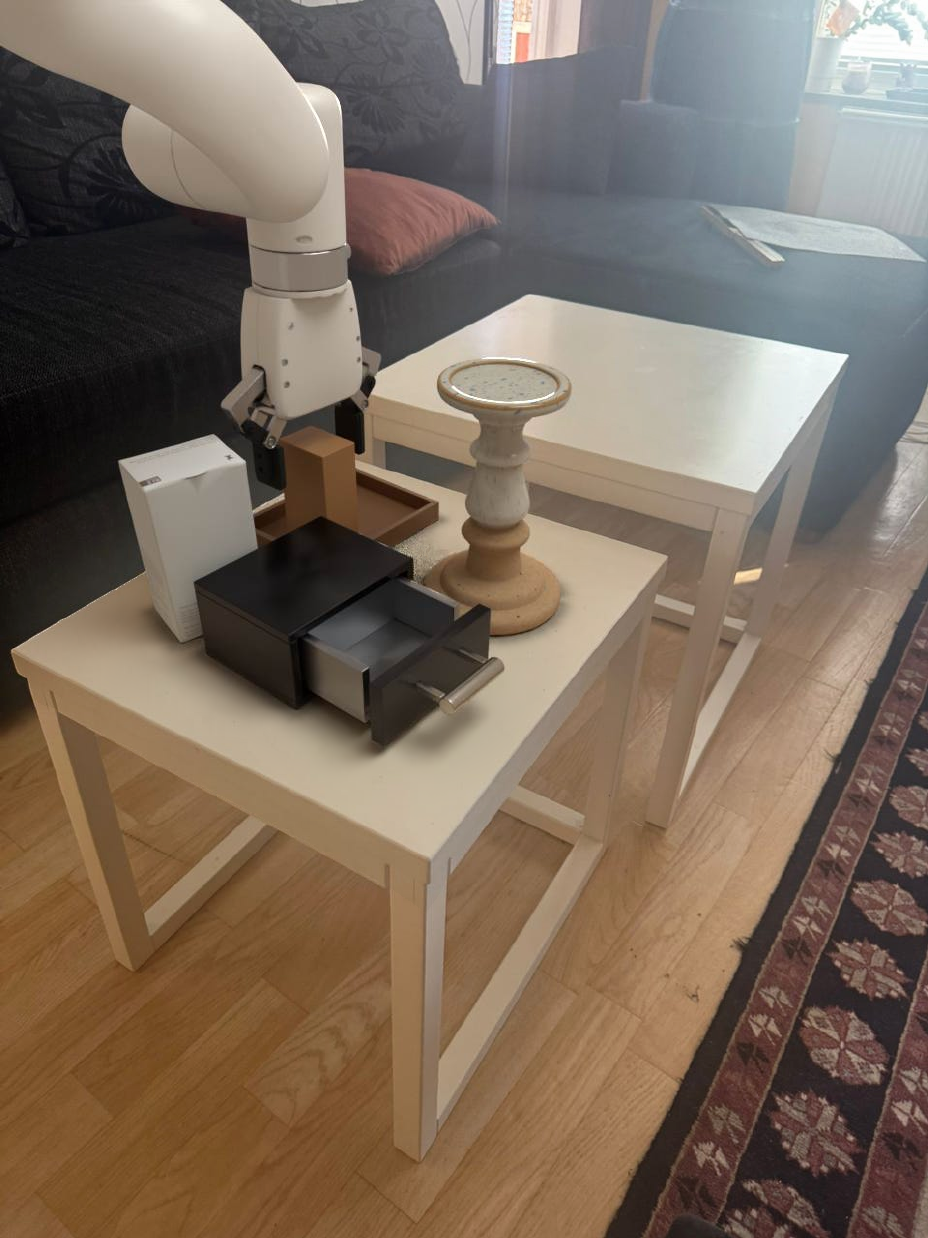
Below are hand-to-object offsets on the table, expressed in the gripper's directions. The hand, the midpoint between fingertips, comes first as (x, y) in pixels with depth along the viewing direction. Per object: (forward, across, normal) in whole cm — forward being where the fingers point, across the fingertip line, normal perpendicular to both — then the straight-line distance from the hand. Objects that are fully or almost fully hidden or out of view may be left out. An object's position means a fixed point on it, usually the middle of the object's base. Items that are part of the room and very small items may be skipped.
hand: (312, 466), depth 78 cm
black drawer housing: (+9, +10, +10) cm, 17 cm away
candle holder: (+9, -5, +17) cm, 20 cm away
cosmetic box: (+10, +13, 0) cm, 16 cm away
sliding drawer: (+8, +10, +20) cm, 24 cm away
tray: (+9, -5, -2) cm, 10 cm away
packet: (+8, -1, 0) cm, 9 cm away
